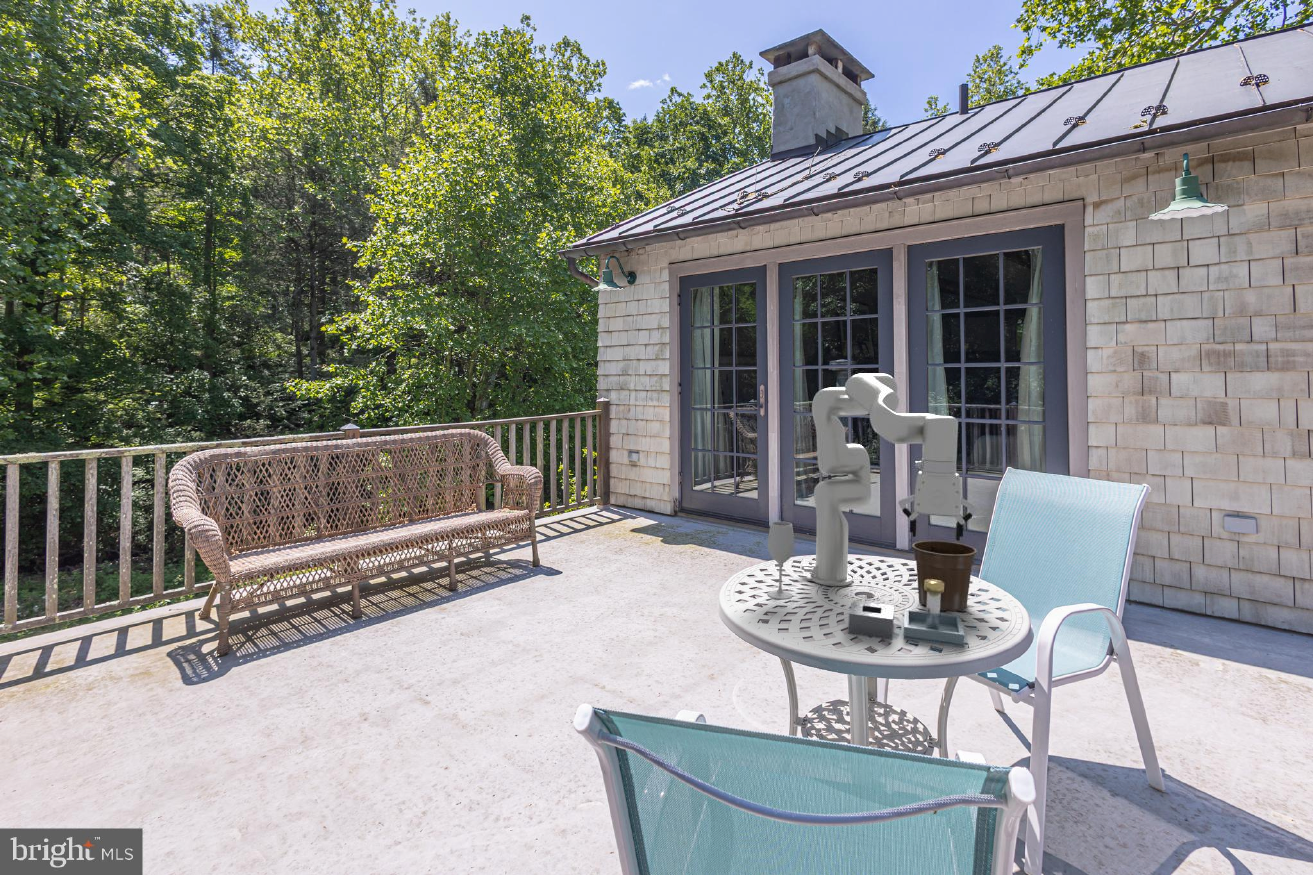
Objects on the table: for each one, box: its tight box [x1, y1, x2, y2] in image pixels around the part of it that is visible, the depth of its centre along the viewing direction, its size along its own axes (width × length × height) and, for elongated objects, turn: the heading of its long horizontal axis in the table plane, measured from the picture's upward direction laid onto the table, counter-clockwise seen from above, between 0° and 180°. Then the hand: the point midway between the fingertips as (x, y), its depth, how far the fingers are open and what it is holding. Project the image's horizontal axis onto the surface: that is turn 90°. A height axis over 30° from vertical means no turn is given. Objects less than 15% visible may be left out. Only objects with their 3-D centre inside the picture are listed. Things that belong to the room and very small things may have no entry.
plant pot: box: [911, 540, 978, 612], centre depth 173 cm, size 16×16×16 cm
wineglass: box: [767, 520, 796, 600], centre depth 180 cm, size 8×8×21 cm
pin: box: [924, 579, 944, 630], centre depth 152 cm, size 4×4×12 cm
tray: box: [903, 608, 965, 648], centre depth 153 cm, size 13×13×3 cm
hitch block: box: [848, 600, 895, 641], centre depth 155 cm, size 10×10×5 cm
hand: (935, 537), depth 151 cm, fingers open, 9 cm apart
